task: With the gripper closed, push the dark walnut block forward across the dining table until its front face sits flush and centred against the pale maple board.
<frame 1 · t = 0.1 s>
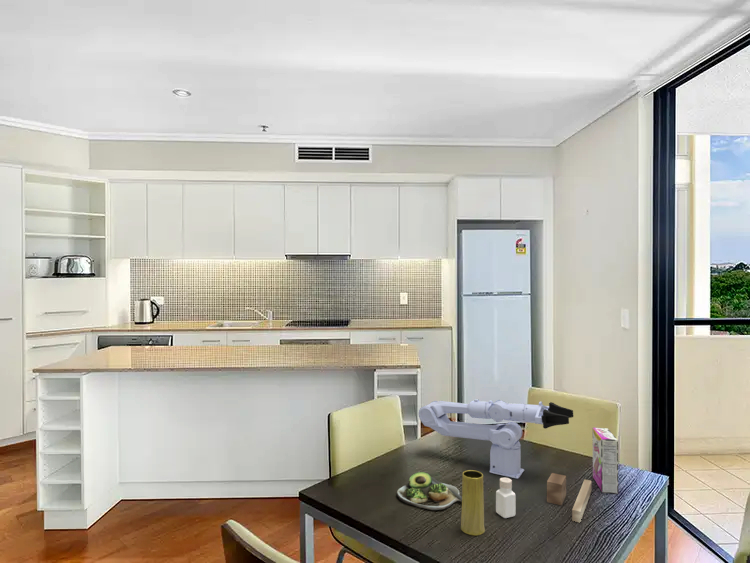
hand: (570, 416, 144), 22 cm above the table, tool horizontal, fingers open, 7 cm apart
walnut block: (556, 499, 136), on the table
salad plate: (427, 497, 139), on the table
maple board: (582, 504, 133), on the table
candy bar box: (604, 486, 145), on the table
pepper shaker: (505, 515, 127), on the table
vase: (472, 530, 120), on the table
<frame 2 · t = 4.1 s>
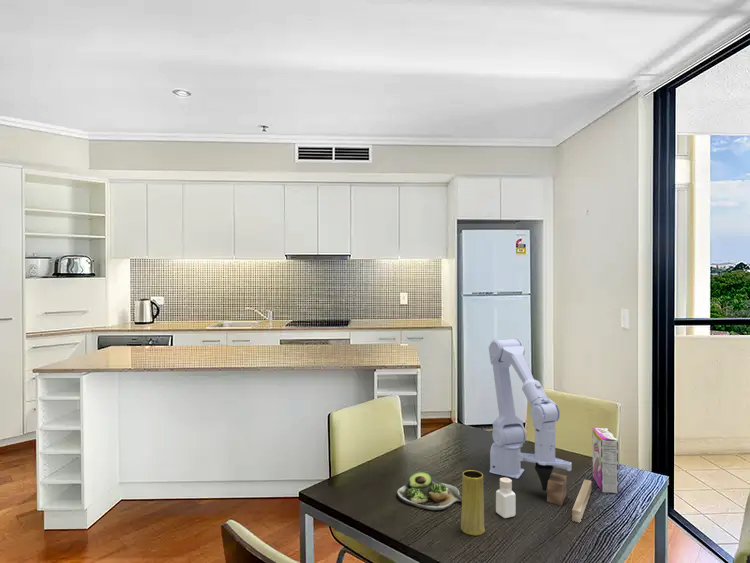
hand: (544, 489, 138), 2 cm above the table, tool pointing down, fingers closed
walnut block: (556, 498, 136), on the table, touching gripper
everything else where it was.
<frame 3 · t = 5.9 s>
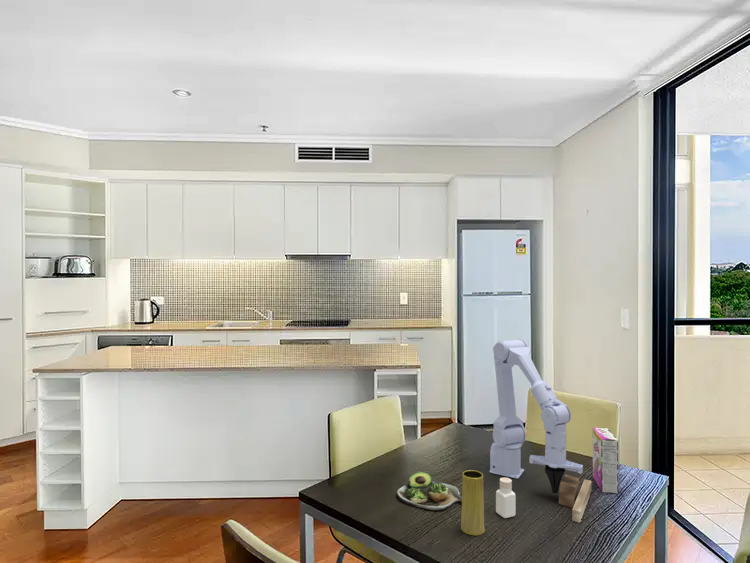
hand: (555, 491, 137), 2 cm above the table, tool pointing down, fingers closed
walnut block: (568, 500, 135), on the table, touching gripper
everything else where it was.
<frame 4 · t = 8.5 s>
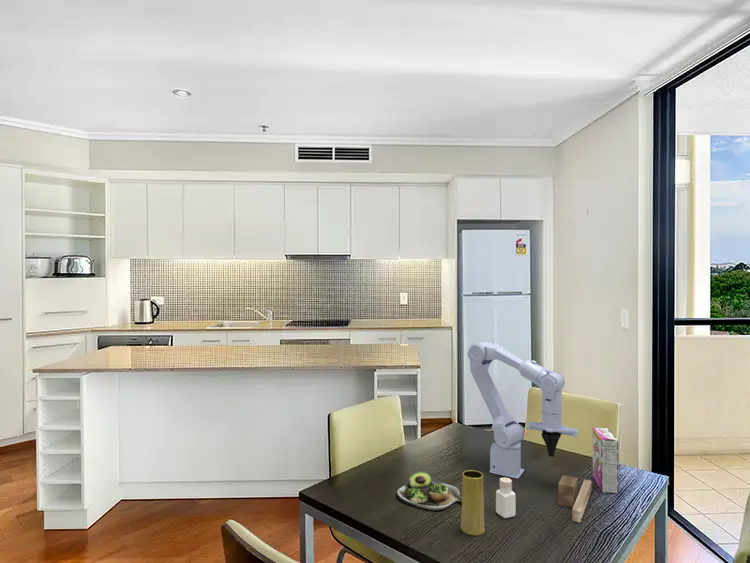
hand: (551, 455, 145), 9 cm above the table, tool pointing down, fingers closed
walnut block: (568, 501, 135), on the table
everything else where it was.
at the end: walnut block 0.5 cm from the target spot on the table beside the maple board, on the table; walnut block tilted 0° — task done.
